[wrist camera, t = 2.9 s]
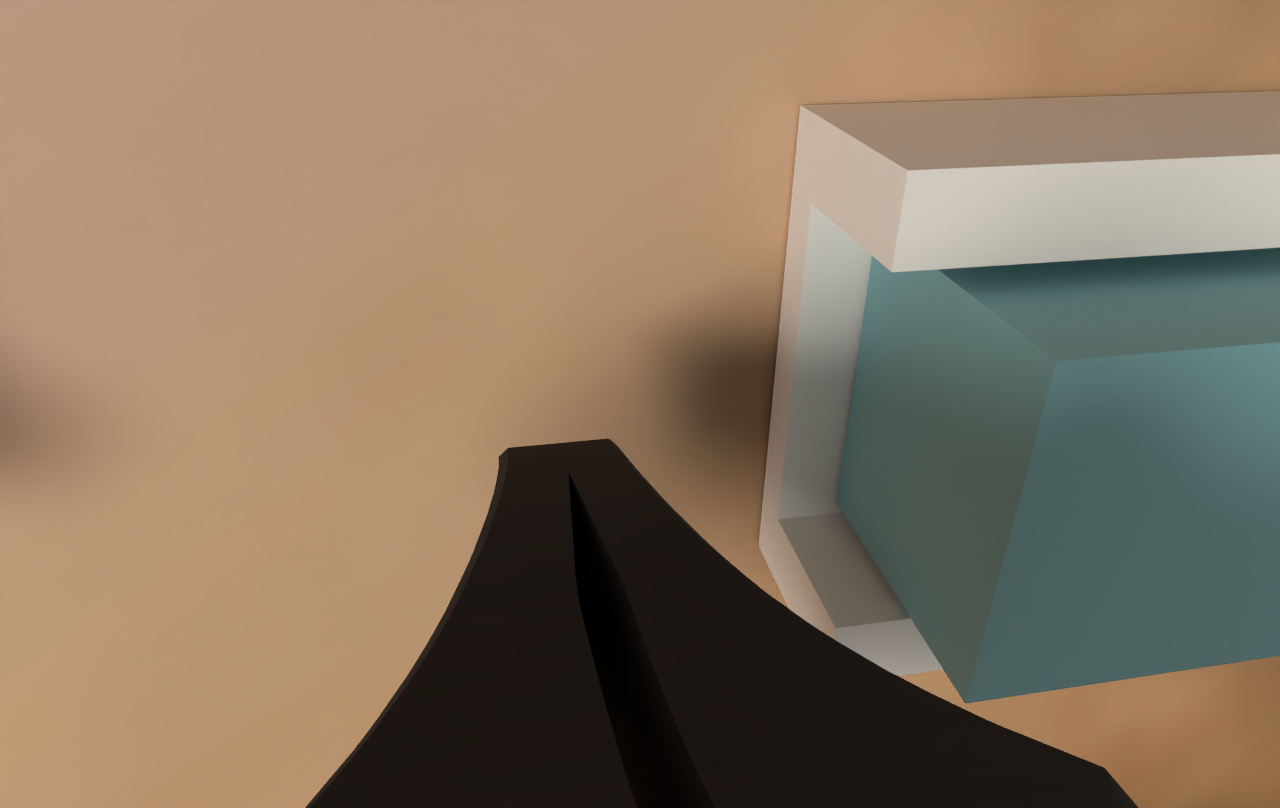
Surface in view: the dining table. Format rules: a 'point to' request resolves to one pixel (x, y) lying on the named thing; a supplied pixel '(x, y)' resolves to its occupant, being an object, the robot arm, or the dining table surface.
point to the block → (1073, 464)
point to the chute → (970, 237)
